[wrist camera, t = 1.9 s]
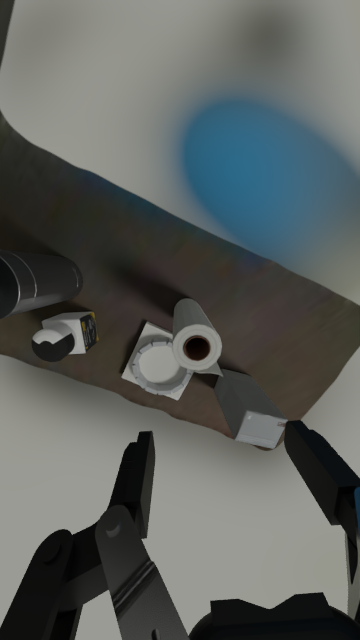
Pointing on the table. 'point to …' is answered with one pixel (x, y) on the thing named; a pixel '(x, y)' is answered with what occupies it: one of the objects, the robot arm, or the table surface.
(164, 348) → the collar socket
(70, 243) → the table surface
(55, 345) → the medicine bottle
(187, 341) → the paper towel roll
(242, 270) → the table surface
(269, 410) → the skincare box
